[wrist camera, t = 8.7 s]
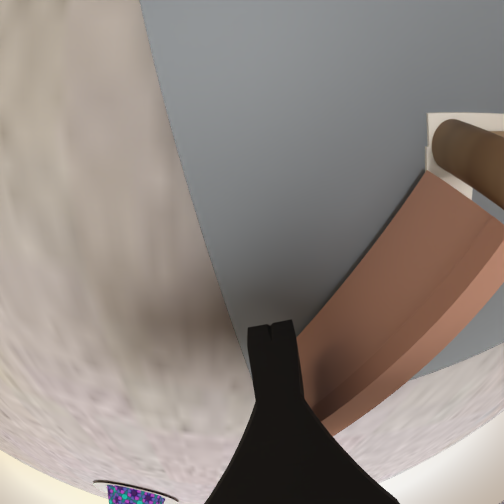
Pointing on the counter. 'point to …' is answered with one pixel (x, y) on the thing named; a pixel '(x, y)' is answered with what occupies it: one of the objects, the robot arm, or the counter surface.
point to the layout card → (320, 136)
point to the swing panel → (401, 303)
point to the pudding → (131, 495)
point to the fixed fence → (472, 157)
